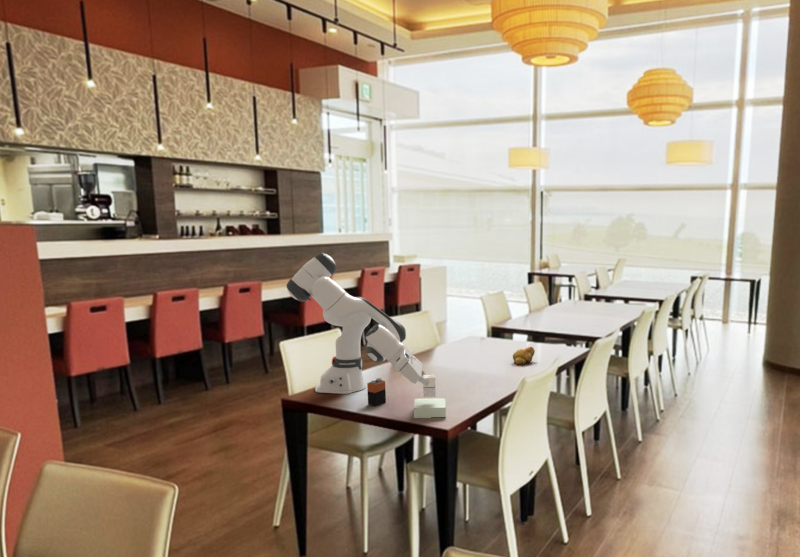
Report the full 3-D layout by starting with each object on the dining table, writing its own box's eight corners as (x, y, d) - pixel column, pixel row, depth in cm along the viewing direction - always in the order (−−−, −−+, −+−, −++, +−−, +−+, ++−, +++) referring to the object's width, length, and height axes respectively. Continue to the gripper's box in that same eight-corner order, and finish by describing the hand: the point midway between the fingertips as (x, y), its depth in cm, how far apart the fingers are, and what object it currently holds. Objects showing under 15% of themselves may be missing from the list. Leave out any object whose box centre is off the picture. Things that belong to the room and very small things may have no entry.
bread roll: (524, 366, 277) (524, 351, 277) (507, 364, 284) (507, 348, 283) (536, 361, 287) (536, 346, 287) (519, 359, 293) (519, 344, 293)
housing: (423, 397, 210) (422, 377, 210) (423, 393, 215) (423, 374, 214) (435, 396, 210) (434, 377, 209) (435, 393, 215) (435, 374, 214)
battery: (386, 402, 228) (385, 378, 227) (375, 406, 223) (374, 382, 222) (378, 400, 231) (377, 377, 230) (367, 404, 226) (366, 380, 225)
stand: (413, 418, 208) (413, 407, 208) (415, 408, 219) (414, 398, 219) (445, 417, 208) (445, 407, 207) (445, 408, 218) (445, 398, 218)
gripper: (398, 356, 222) (423, 380, 223) (393, 370, 202) (421, 396, 202) (409, 345, 222) (434, 369, 222) (405, 358, 201) (433, 384, 202)
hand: (428, 382), depth 212 cm, fingers closed on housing, 4 cm apart
